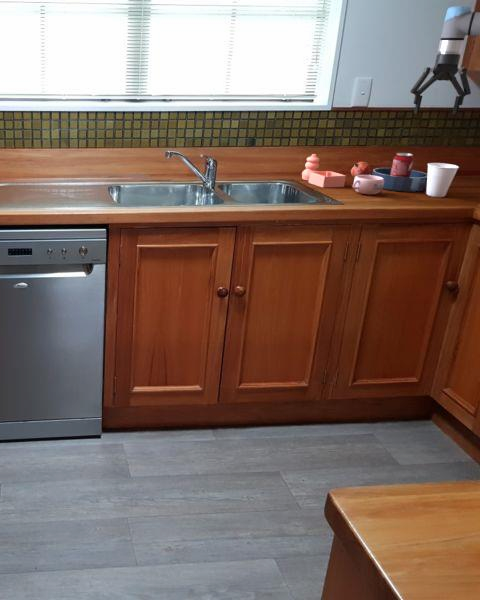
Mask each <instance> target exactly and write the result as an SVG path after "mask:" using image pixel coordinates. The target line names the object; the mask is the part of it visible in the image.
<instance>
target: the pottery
mask: <svg viewBox="0 0 480 600" xmlns="http://www.w3.org/2000/svg"><path fill="white" fill-rule="evenodd" d="M319 162H320V158H319V157H318V156H317V154H316V153H312V154H311V156H308V157H307V158H306V163H305V165H304V167H305V169H304V170H303V171H302V172H301V179H302V180H305V181H308V184H311V185H315V186H317V187H320V188H323V189H324V188H344V187H345V184H346V179H347V175H345V174H342V173H339V172H335V171H332V170H326V171H325V170H324V171H323V170H322V171H321V170H320V171H319V170H318V169H319V168H320V163H319Z"/></svg>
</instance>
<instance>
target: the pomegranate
mask: <svg viewBox="0 0 480 600" xmlns="http://www.w3.org/2000/svg"><path fill="white" fill-rule="evenodd" d="M353 165H354V166H353V167H352V168H351V170H350V174H351V176H352V177H353V178H354V179H355V177H356V176H357V175H371V166H370V164H369V162H366V161H359V162H356V163H353Z"/></svg>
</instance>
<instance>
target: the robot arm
mask: <svg viewBox="0 0 480 600" xmlns="http://www.w3.org/2000/svg"><path fill="white" fill-rule="evenodd" d="M466 36H480V12H476V11H475V12H474V11H472V6H469V5H455V6H449V8H448V9H447V11H446V15H445V18H444V20H443V26H442V30H441V36H440V40H439V46H438V49H437V52H438V53H437V54H436V58H435V63H434V67H429V66H425V68H424V70H423V73H422V74H421V76H420V77H419V78H418V80H417V81H416V82H415V84H414V85H413V87H412V88H411V89H410V94H413V95H414V99H413V105H415V106H414V111H413V114H416V115H419V114H420V109H421V105H422V99H423V95H422V94H423V93H424V92H425V91H426V90H427V89H428V88H430V87H431V86H432V85H433V84H434V83H435V82H437V81H446V82H447V81H449V82H450V83H451V84H452V86H453V88H454V90H455V91H456V93H457V95H456V96H455V100H454V105H453V108H452V113H451V114H452V115H454V116H458V114H459V109H460V106H463V102H464V99H465V97H466V96H469V95H471V94H472V92H471V87H470V84H469V80H468V76H467V75H468V74H467V73H468V72H467V71H468V68H467V67H461V68H459V64H460V60H461V54H460V53H462V51H463V48H464V47H463V46H464V42H465V38H466ZM431 73H432V74H433V75H432V76H431V77H430V78H429V80H427V81H426V79H427V78H428V76H429V75H430V74H431ZM457 73H458V75H459V77H460V81H461V84H460V82H459V81H458V79H457V77H456V74H457ZM425 81H426V82H425ZM424 82H425V83H424ZM423 83H424V84H423ZM422 84H423V85H422ZM461 85H462V86H461Z"/></svg>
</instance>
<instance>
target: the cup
mask: <svg viewBox="0 0 480 600" xmlns="http://www.w3.org/2000/svg"><path fill="white" fill-rule="evenodd" d="M459 168H460V166H458V165H456V164H451V163H445V162H429V163H427V174H428V177H427V185H426V191H425V194H426V195H427V196H429V197H433V198H444V197H446V196H447V193H448V191H449V188H450V186H451V184H452V182H453V180H454V178H455V176H456V174H457V172H458V169H459Z"/></svg>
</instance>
